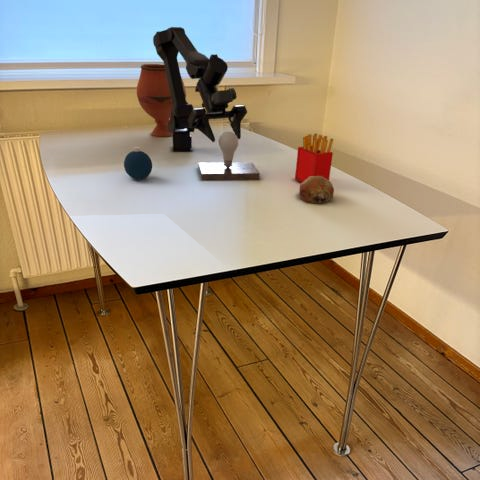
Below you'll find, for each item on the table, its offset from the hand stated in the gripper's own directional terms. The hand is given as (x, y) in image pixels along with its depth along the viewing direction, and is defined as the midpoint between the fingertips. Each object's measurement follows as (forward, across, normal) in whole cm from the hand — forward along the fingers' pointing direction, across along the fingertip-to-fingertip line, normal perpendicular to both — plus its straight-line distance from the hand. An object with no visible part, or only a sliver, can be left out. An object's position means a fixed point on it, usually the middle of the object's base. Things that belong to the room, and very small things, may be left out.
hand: (227, 140), depth 153 cm
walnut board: (+8, 0, +6) cm, 10 cm away
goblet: (-32, +4, +48) cm, 58 cm away
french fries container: (+22, +19, -7) cm, 30 cm away
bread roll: (+30, +11, -15) cm, 35 cm away
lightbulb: (+7, 0, +5) cm, 9 cm away
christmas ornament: (+3, -27, +12) cm, 30 cm away
